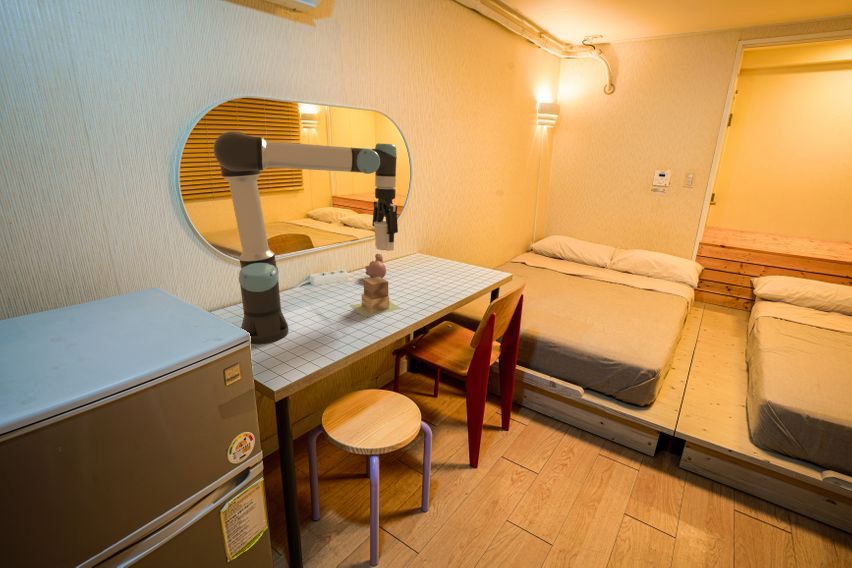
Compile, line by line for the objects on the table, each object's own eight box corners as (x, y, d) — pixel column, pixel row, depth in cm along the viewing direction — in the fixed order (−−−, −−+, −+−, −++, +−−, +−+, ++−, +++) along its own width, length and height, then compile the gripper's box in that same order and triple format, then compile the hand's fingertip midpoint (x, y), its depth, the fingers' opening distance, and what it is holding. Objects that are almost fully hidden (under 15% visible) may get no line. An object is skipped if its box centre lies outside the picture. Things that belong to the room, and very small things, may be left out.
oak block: (371, 312, 157) (370, 300, 155) (361, 305, 163) (361, 293, 162) (389, 308, 161) (389, 296, 160) (379, 302, 168) (379, 290, 166)
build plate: (364, 319, 153) (364, 316, 153) (349, 308, 163) (349, 305, 163) (401, 311, 162) (401, 308, 162) (385, 301, 172) (385, 298, 172)
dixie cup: (374, 251, 154) (374, 224, 151) (371, 246, 162) (372, 220, 159) (396, 251, 156) (397, 224, 153) (392, 246, 164) (393, 221, 161)
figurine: (371, 274, 206) (371, 251, 202) (389, 278, 201) (389, 254, 197) (360, 279, 199) (359, 255, 195) (379, 283, 193) (378, 258, 190)
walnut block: (372, 299, 156) (371, 284, 154) (363, 293, 162) (363, 279, 160) (388, 296, 160) (388, 281, 158) (379, 290, 165) (379, 276, 164)
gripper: (409, 190, 146) (407, 253, 153) (380, 184, 162) (379, 241, 169) (391, 191, 142) (389, 255, 149) (363, 185, 158) (363, 243, 165)
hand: (384, 247), depth 159 cm, fingers closed on dixie cup, 8 cm apart
